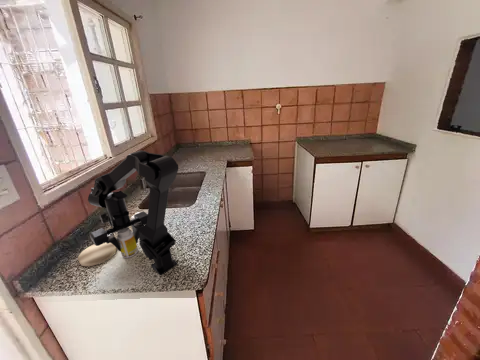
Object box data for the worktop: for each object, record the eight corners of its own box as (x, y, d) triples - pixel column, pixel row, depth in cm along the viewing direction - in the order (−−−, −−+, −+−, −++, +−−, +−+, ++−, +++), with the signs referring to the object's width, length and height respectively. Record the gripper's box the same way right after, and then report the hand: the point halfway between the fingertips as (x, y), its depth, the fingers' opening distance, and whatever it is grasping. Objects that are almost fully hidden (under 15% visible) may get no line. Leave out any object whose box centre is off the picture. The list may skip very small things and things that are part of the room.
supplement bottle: (140, 247, 83) (134, 225, 79) (135, 257, 78) (128, 233, 74) (125, 249, 82) (118, 226, 79) (119, 259, 77) (111, 235, 74)
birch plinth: (121, 252, 81) (120, 249, 80) (84, 271, 73) (83, 268, 72) (110, 240, 88) (109, 237, 88) (75, 256, 80) (74, 253, 80)
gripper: (134, 194, 85) (143, 227, 90) (79, 213, 72) (93, 251, 78) (147, 201, 78) (156, 237, 83) (88, 224, 65) (103, 265, 71)
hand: (128, 246), depth 79 cm, fingers closed on supplement bottle, 6 cm apart
